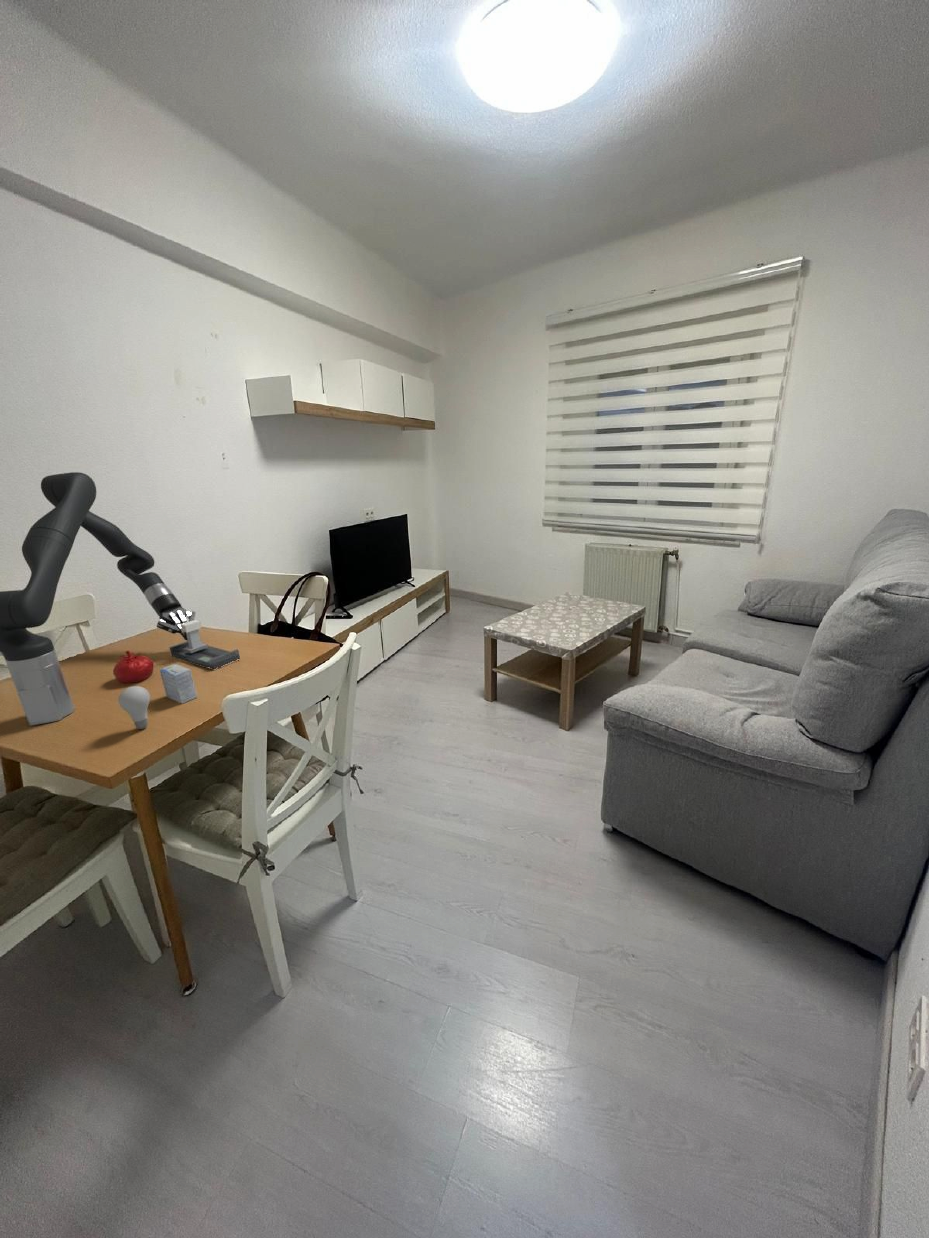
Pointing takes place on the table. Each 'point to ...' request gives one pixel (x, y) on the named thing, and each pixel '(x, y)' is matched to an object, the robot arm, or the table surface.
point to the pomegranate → (133, 668)
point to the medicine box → (178, 683)
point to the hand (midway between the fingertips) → (191, 639)
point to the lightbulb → (136, 704)
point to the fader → (193, 636)
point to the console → (204, 655)
